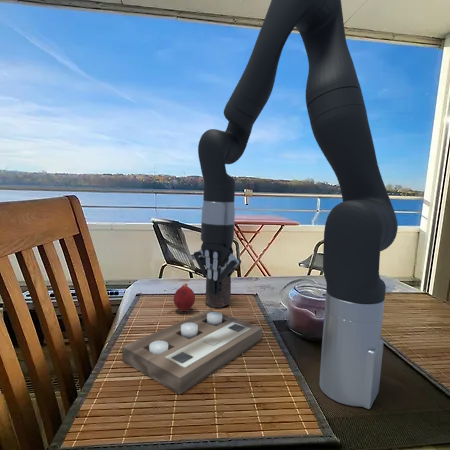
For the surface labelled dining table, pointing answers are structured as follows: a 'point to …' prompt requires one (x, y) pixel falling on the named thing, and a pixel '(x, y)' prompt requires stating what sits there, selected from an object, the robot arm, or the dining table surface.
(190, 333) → the button middle
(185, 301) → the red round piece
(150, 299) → the dining table surface
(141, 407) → the dining table surface
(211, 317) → the button right
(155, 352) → the button left
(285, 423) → the dining table surface
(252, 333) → the button board
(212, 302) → the candle
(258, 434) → the dining table surface
